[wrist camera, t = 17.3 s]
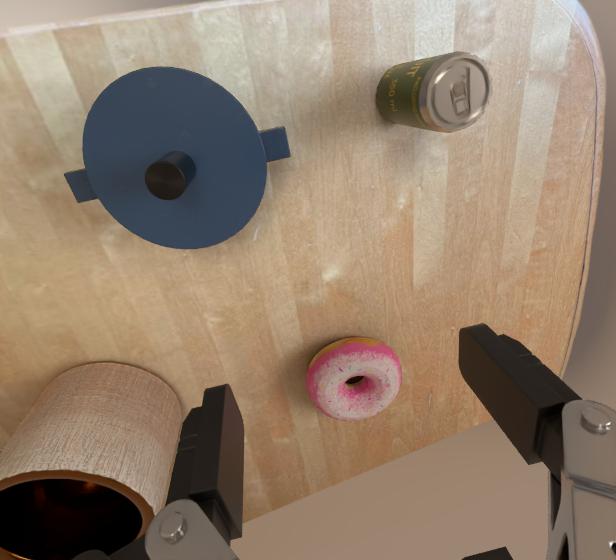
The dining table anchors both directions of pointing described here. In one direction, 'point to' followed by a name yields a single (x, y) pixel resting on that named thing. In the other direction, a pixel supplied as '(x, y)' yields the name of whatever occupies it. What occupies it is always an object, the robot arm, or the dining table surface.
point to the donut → (348, 363)
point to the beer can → (436, 92)
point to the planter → (87, 463)
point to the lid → (174, 157)
